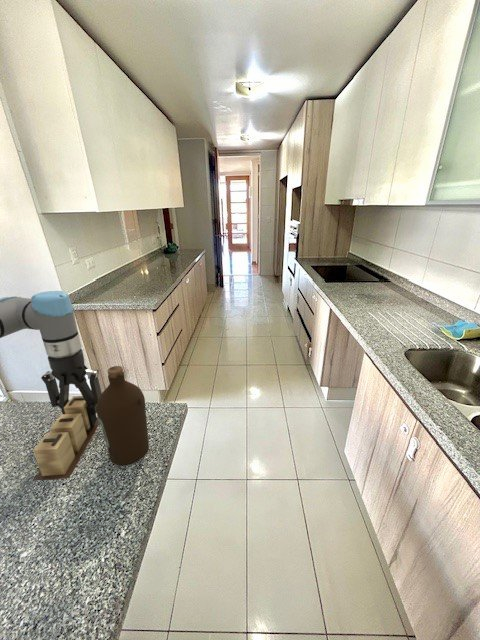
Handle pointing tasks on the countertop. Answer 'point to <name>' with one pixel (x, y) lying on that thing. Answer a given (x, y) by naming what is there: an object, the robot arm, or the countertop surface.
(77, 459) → the word board
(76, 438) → the letter I
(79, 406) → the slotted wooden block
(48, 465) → the letter T
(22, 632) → the countertop surface
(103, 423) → the olive oil
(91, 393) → the robot arm
